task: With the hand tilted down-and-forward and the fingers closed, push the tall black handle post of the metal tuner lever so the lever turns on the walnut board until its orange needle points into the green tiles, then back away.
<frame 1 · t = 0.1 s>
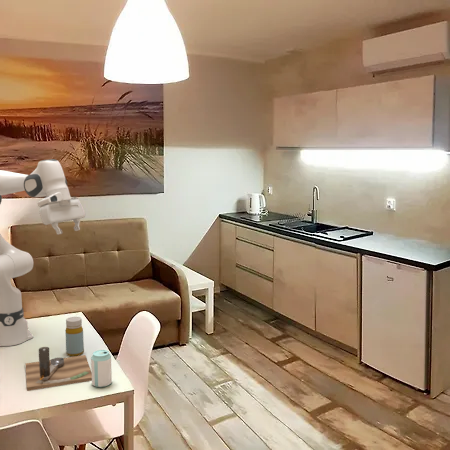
hand: (68, 232, 205), 52 cm above the table, tool tilted 20°, fingers open, 8 cm apart
peg lever: (50, 358, 194), point 7 cm above the table, hinge at -25.0°
tuner board: (58, 373, 198), on the table
bottle: (75, 354, 217), on the table
can: (101, 384, 190), on the table
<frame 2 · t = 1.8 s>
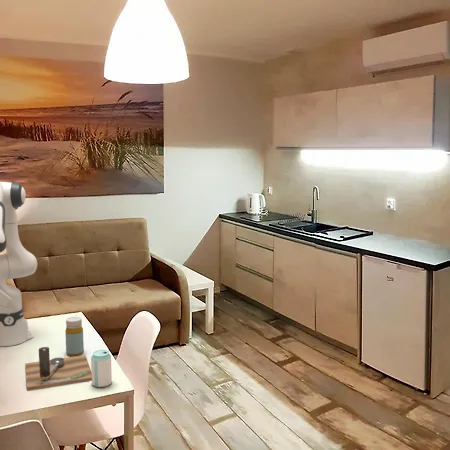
hand: (13, 308, 182), 29 cm above the table, tool tilted 45°, fingers open, 8 cm apart
nothing on the table moved.
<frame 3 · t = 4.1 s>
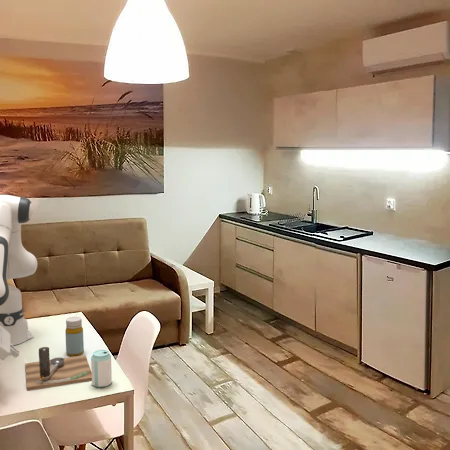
hand: (17, 354, 184), 12 cm above the table, tool tilted 45°, fingers closed
nothing on the table moved.
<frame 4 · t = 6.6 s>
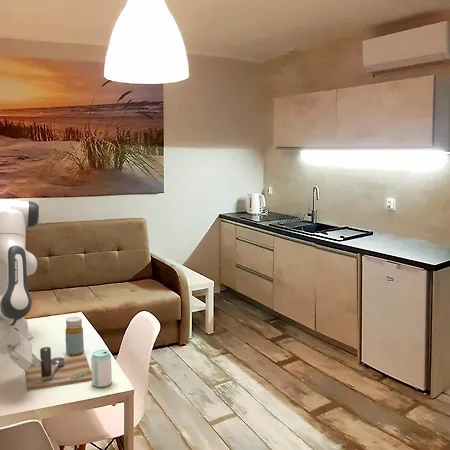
hand: (39, 364, 187), 8 cm above the table, tool tilted 45°, fingers closed, pressing on peg lever
peg lever: (50, 358, 194), point 7 cm above the table, hinge at -22.3°, touching gripper
everything else where it was.
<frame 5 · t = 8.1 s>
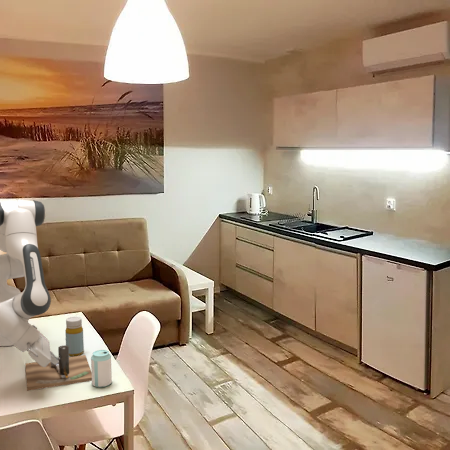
hand: (57, 361, 189), 8 cm above the table, tool tilted 45°, fingers closed, pressing on peg lever
peg lever: (60, 357, 195), point 7 cm above the table, hinge at 7.8°, touching gripper
everything else where it was.
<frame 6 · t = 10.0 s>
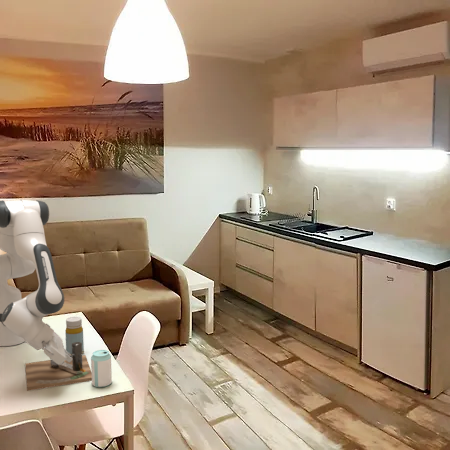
hand: (70, 359, 192), 8 cm above the table, tool tilted 45°, fingers closed
peg lever: (68, 355, 197), point 7 cm above the table, hinge at 33.0°, touching gripper
everything else where it was.
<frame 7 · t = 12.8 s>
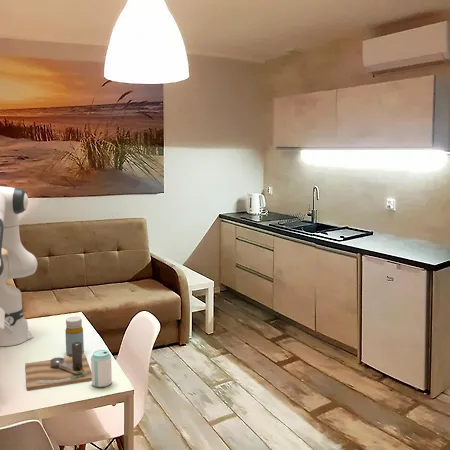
hand: (12, 331, 182), 21 cm above the table, tool tilted 45°, fingers closed
peg lever: (68, 355, 197), point 7 cm above the table, hinge at 33.1°
everything else where it was.
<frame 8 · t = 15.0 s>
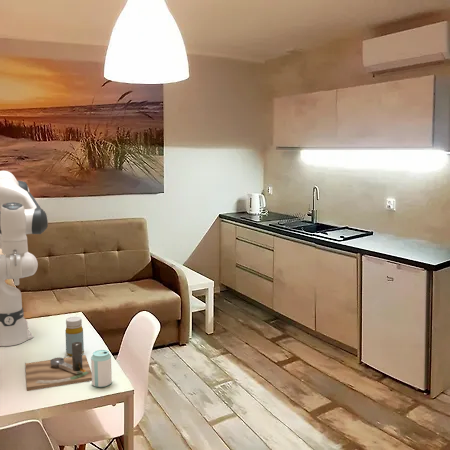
hand: (16, 284, 191), 35 cm above the table, tool pointing down, fingers closed
nothing on the table moved.
at the end: peg lever at +33° (first picture: -25°); the gripper is holding nothing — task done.
